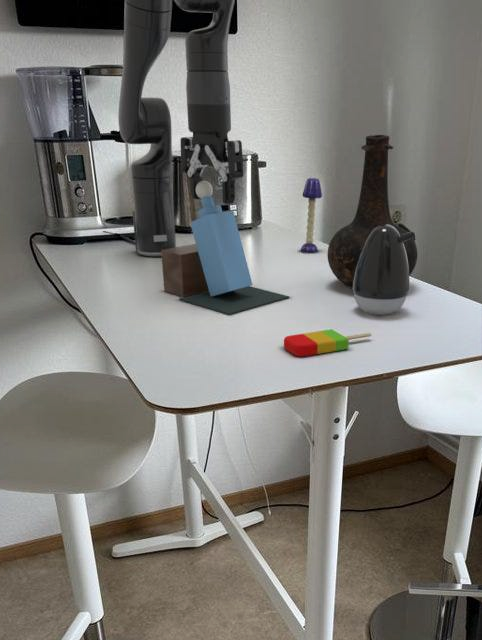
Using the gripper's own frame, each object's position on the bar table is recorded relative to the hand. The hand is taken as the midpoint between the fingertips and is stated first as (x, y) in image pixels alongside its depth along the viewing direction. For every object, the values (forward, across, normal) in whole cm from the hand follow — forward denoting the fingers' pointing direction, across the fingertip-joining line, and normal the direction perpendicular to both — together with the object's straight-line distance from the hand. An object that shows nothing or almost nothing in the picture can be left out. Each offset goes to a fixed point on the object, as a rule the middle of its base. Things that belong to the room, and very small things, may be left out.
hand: (212, 201), depth 129 cm
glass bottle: (+18, -18, -26) cm, 36 cm away
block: (+17, +6, 0) cm, 18 cm away
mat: (+17, -5, 0) cm, 18 cm away
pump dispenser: (+18, -30, -13) cm, 37 cm away
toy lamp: (+17, +13, -43) cm, 48 cm away
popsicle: (+18, -36, +8) cm, 41 cm away
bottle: (+17, 0, 0) cm, 17 cm away
